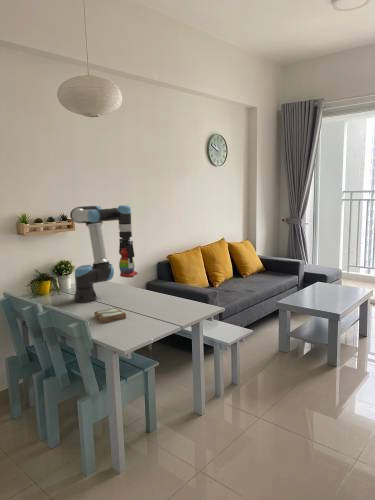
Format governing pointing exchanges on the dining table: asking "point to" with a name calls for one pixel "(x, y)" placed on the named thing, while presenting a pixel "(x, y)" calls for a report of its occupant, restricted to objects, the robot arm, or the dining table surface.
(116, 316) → the picture frame
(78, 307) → the dining table surface
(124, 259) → the stacking bear
